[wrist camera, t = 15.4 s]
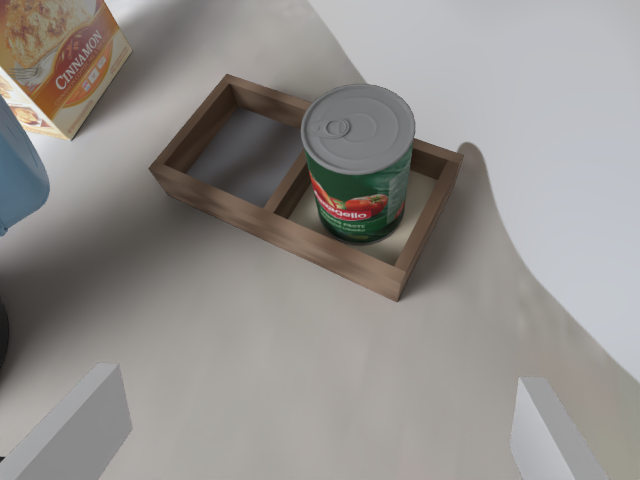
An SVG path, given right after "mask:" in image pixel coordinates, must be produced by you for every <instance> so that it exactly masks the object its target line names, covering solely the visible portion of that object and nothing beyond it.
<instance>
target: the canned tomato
mask: <svg viewBox="0 0 640 480" xmlns="http://www.w3.org/2000/svg"><path fill="white" fill-rule="evenodd" d="M414 135H415V120H414V116H413V113H412V111H411V109H410V107H409V106H408V104H407V103H406V102H405V101H404V100H403V99H402V98H401V97H399V96H398V95H397V94H396V93H394V92H392V91H390V90H388V89H386V88H383V87H379V86H376V85H369V84H352V85H345V86H342V87H338V88H335V89H333V90H331V91H328V92H326V93H325V94H323V95H322V96H320V97H319V98H317V99H316V100H315V101H314V102H313V103H312V104H311V105H310V107H309V108H308V110H307V111H306V113H305V115H304V117H303V120H302V125H301V138H302V142H303V144H304V148H305V155H306V158H307V163H308V168H309V174H310V177H311V181H312V186H313V191H314V196H315V201H316V206H317V209H318V216H319V219H320V222H321V224H322V225H323V227H324V229H325V230H326V231H327V232H328V233H329V234H330V235H331V236H332V237H334V238H335V239H337V240H339V241H341V242H344V243H346V244H351V245H360V246H363V245H371V244H374V243H378V242H380V241H382V240H384V239H386V238H388V237H389V236H390V235H391V234H393V233H394V232H395V230H396V229H397V228H398V227H399V225H400V223H401V221H402V219H403V216H404V212H405V201H406V193H407V186H408V177H409V170H410V163H411V156H412V149H413V139H414Z"/></svg>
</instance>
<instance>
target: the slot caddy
mask: <svg viewBox="0 0 640 480" xmlns="http://www.w3.org/2000/svg"><path fill="white" fill-rule="evenodd" d="M311 104H312V103H310V102H307V101H305V100H302V99H299V98H296V97H293V96H290V95H287V94H284V93H281V92H278V91H276V90H273V89H270V88H267V87H264V86H261V85H258V84H255V83H252V82H249V81H246V80H244V79H241V78H238V77H235V76H232V75H229V74H226V75H225V76H224V78H223V79H222V80H221V81H220V83H219V84H218V85H217V86H216V87H215V89H214V90H213V91H212V92H211V93H210V95H209V96H208V97H207V98H206V99H205V101H204V102H203V103H202V104H201V106H200V107H199V108H198V109H197V110H196V112H195V113H194V114H193V115H192V116H191V118H190V119H189V120H188V121H187V122H186V124H185V125H184V126H183V127H182V129H181V130H180V131H179V132H178V133H177V135H176V136H175V137H174V138H173V139H172V141H171V142H170V143H169V144H168V146H167V147H166V148H165V149H164V150H163V152H162V153H161V154H160V155H159V156H158V158H157V159H156V160H155V161H154V162H153V164H152V165H151V166H150V167H149V170H150V172H151V173H152V174H153V176H154V177H155V178H156V180H157V181H158V182H159V183H160V185H161V186H162V187H163V189H164V190H165V191H166V193H167V194H168V195H169V196H171V197H173V198H176V199H178V200H180V201H182V202H184V203H186V204H188V205H191V206H193V207H195V208H197V209H199V210H201V211H203V212H205V213H208V214H210V215H212V216H214V217H216V218H218V219H220V220H223V221H225V222H227V223H229V224H231V225H233V226H235V227H237V228H240V229H242V230H244V231H246V232H248V233H250V234H252V235H255V236H257V237H259V238H261V239H263V240H265V241H267V242H270V243H272V244H274V245H276V246H278V247H280V248H282V249H284V250H287V251H289V252H291V253H293V254H295V255H297V256H299V257H302V258H304V259H306V260H308V261H310V262H312V263H314V264H317V265H319V266H321V267H323V268H325V269H327V270H329V271H331V272H334V273H336V274H338V275H340V276H342V277H344V278H346V279H349V280H351V281H353V282H355V283H357V284H359V285H361V286H363V287H366V288H368V289H370V290H372V291H374V292H376V293H378V294H381V295H383V296H385V297H387V298H389V299H391V300H393V301H396V302H398V300H399V298H400V296H401V294H402V292H403V289H404V287H405V285H406V283H407V281H408V279H409V277H410V275H411V273H412V271H413V269H414V267H415V265H416V263H417V261H418V259H419V257H420V255H421V253H422V250H423V248H424V246H425V244H426V242H427V240H428V238H429V236H430V234H431V232H432V230H433V228H434V226H435V224H436V222H437V220H438V218H439V216H440V214H441V211H442V209H443V207H444V205H445V203H446V201H447V199H448V197H449V195H450V193H451V191H452V189H453V187H454V185H455V182H456V178H457V175H458V172H459V169H460V166H461V162H462V159H463V156H464V155H461V154H459V153H456V152H453V151H449V150H447V149H444V148H441V147H438V146H435V145H432V144H429V143H427V142H423V141H421V140H418V139H415V138H414V139H413V149H412V156H411V163H410V170H409V177H408V186H407V193H406V201H405V212H404V216H403V219H402V221H401V223H400V225H399V227H398V228H397V229H396V230H395V232H394V233H393V234H391V235H390V236H389V237H388V238H386V239H384V240H382V241H380V242H378V243H374V244H371V245H363V246H360V245H351V244H346V243H344V242H341V241H339V240H337V239H335V238H334V237H332V236H331V235H330V234H329V233H328V232H327V231H326V230H325V229H324V227H323V225H322V224H321V222H320V219H319V216H318V209H317V206H316V201H315V196H314V191H313V186H312V181H311V177H310V174H309V168H308V163H307V158H306V155H305V148H304V144H303V142H302V138H301V125H302V120H303V117H304V115H305V113H306V111H307V110H308V108H309V107H310V105H311Z"/></svg>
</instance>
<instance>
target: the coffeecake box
mask: <svg viewBox="0 0 640 480" xmlns="http://www.w3.org/2000/svg"><path fill="white" fill-rule="evenodd" d="M131 52H132V49H131V47H130V45H129V44H128V42H127V40H126V38H125V37H124V35H123V33H122V31H121V29H120V28H119V26H118V24H117V23H116V21H115V19H114V17H113V16H112V14H111V12H110V10H109V9H108V7H107V5H106V3H105V2H104V0H0V94H1V95H2V97H3V98H4V100H5V101H6V103H7V104H8V106H9V107H10V109H11V110H12V112H13V113H14V115H15V116H16V118H17V119H18V121H19V122H20V124H21V126H22V127H23V129H24V130H27V131H31V132H36V133H40V134H44V135H49V136H52V137H55V138H59V139H64V140H68V141H71V140H72V138H73V137H74V135H75V134H76V132H77V131H78V129H79V128H80V127H81V125H82V124H83V122H84V121H85V119H86V118H87V116H88V115H89V113H90V112H91V110H92V109H93V108H94V106H95V105H96V103H97V102H98V100H99V99H100V97H101V96H102V94H103V93H104V91H105V90H106V88H107V87H108V86H109V84H110V83H111V81H112V80H113V78H114V77H115V75H116V74H117V73H118V71H119V70H120V68H121V67H122V65H123V64H124V62H125V61H126V60H127V58H128V57H129V55H130V54H131Z"/></svg>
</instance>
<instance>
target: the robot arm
mask: <svg viewBox="0 0 640 480" xmlns="http://www.w3.org/2000/svg"><path fill="white" fill-rule="evenodd" d="M49 191H50V184H49V179H48V175H47V172H46V170H45V167H44V165H43V163H42V161H41V159H40V157H39V155H38V153H37V151H36V149H35V147H34V146H33V144H32V142H31V141H30V139H29V137H28V135H27V134H26V132H25V130H24V129H23V127H22V126H21V124H20V122H19V121H18V119H17V118H16V116H15V115H14V113H13V112H12V110H11V109H10V107H9V106H8V104H7V103H6V101H5V100H4V98H3V97H2V95H1V94H0V237H1V236H3V235H5V234H6V233H7V231H8V228H10V227H11V226H13V225H14V224H16V223H18V222H19V221H21V220H22V219H24V218H26V217H27V216H29V215H30V214H32V213H33V212H35V211H37V210H38V209H39V208H41V207H42V206H43V205H44V204H45V202H46V201H47V198H48V196H49ZM7 342H8V319H7V315H6V311H5V309H4V306H3V304H2V302H1V301H0V367H1V365H2V362H3V359H4V356H5V352H6V348H7ZM132 429H133V428H132V423H131V418H130V414H129V409H128V404H127V399H126V394H125V390H124V385H123V380H122V375H121V370H120V366H119V364H113V363H97V364H96V365H95V367H94V368H93V369H92V370H91V371H90V372H89V373H88V374H87V375H86V376H85V377H84V378H83V379H82V380H81V381H80V382H79V383H78V384H77V385H76V386H75V387H74V388H73V389H72V390H71V391H70V392H69V393H68V394H67V395H66V396H65V397H64V398H63V399H62V400H61V401H60V402H59V403H58V404H57V405H56V406H55V407H54V408H53V409H52V410H51V411H50V412H49V413H48V414H47V416H46V417H45V418H44V419H43V420H42V421H41V422H40V423H39V424H38V425H37V426H36V427H35V428H34V429H33V430H32V431H31V432H30V433H29V434H28V435H27V436H26V437H25V438H24V439H23V440H22V441H21V442H20V443H19V444H18V445H17V446H16V447H15V448H14V449H13V450H12V451H11V452H10V453H9V454H8V455H7V456H6V457H0V480H98V479H99V477H100V476H101V474H102V473H103V472H104V470H105V469H106V467H107V466H108V464H109V463H110V461H111V460H112V458H113V457H114V455H115V454H116V453H117V451H118V450H119V448H120V447H121V445H122V444H123V442H124V441H125V439H126V438H127V437H128V435H129V434H130V432H131V431H132ZM510 449H511V451H512V454H513V456H514V459H515V461H516V464H517V466H518V469H519V471H520V474H521V476H522V478H523V480H610V479H609V478H608V476H607V475H606V473H605V472H604V470H603V468H602V467H601V465H600V464H599V462H598V460H597V459H596V457H595V456H594V454H593V452H592V451H591V449H590V448H589V446H588V445H587V443H586V441H585V440H584V438H583V437H582V435H581V433H580V432H579V430H578V429H577V427H576V426H575V424H574V422H573V421H572V419H571V418H570V416H569V414H568V413H567V411H566V410H565V408H564V407H563V405H562V403H561V402H560V400H559V399H558V397H557V395H556V394H555V392H554V391H553V389H552V388H551V386H550V384H549V383H548V381H547V380H546V378H545V377H519V383H518V390H517V397H516V405H515V412H514V419H513V427H512V434H511V441H510Z"/></svg>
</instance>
